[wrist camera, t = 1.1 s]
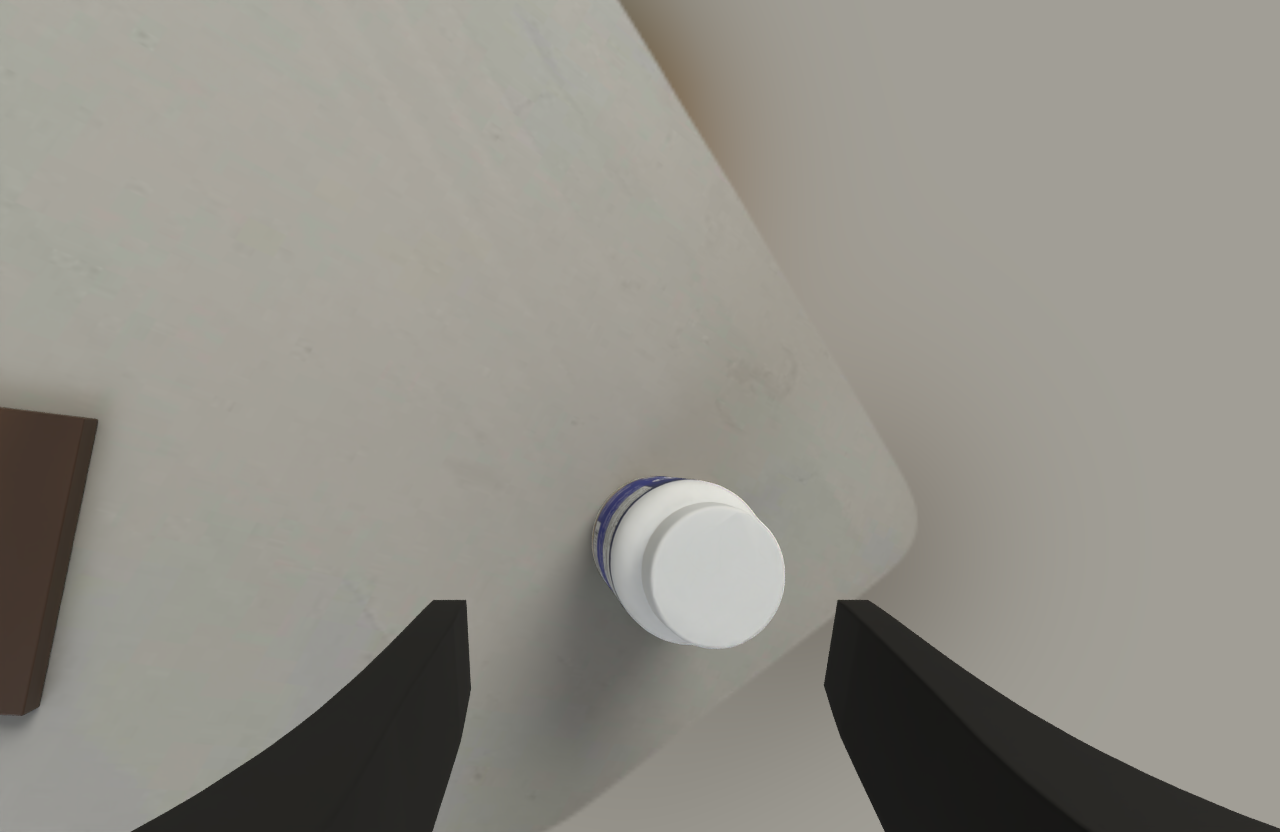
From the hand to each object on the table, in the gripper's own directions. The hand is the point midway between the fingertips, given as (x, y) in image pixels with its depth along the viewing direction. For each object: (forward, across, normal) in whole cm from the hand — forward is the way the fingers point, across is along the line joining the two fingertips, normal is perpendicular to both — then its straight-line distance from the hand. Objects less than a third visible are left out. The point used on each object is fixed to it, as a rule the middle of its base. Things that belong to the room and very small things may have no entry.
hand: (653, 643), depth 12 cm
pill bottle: (+13, -1, +5) cm, 14 cm away
